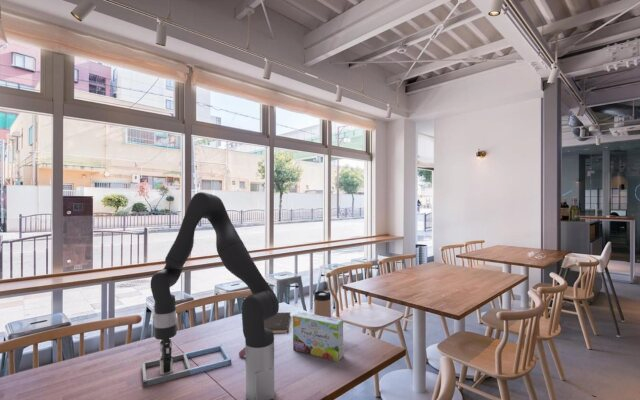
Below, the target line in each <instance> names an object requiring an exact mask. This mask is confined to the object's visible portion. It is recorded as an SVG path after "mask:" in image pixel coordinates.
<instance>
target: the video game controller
mask: <svg viewBox="0 0 640 400" xmlns="http://www.w3.org/2000/svg"><path fill="white" fill-rule="evenodd" d="M238 356H239V357H240V358H244V357H246V346H245V347H243V348H242V349H241V350H240V351H239V352H238Z"/></svg>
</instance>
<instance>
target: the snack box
mask: <svg viewBox="0 0 640 400" xmlns="http://www.w3.org/2000/svg"><path fill="white" fill-rule="evenodd" d="M292 348H293V351H295V352H296V351H297V352H300V353H304V354H307V355H311V356H316V357H320V358H323V359H326V358H327V360H330V359H331V361H335V362H340V361H341V359H342V358H343V357H344V320H343V319H341V318H340V319H338V318H334V317H331V318H329V317H324V316H319V315H314V314H313V313H307V312H301V311H298V312H296V313H295V314H293V315H292Z"/></svg>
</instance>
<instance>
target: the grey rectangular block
mask: <svg viewBox="0 0 640 400" xmlns="http://www.w3.org/2000/svg"><path fill="white" fill-rule="evenodd" d="M163 354H164V353H163ZM172 356H173V353H172V354H171V360H172V361H171V362H170V372H167V373H164V367H163V356H161V353H160V354H159V359H160V365H159V371H160V372H159V373H160V376H163V375H167V374H170V373H174V370H173V363H174V361H173V357H172ZM165 359H169V357H168V358H165Z"/></svg>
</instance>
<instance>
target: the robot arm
mask: <svg viewBox="0 0 640 400" xmlns="http://www.w3.org/2000/svg"><path fill="white" fill-rule="evenodd" d="M184 213H185V214H184V216H183V219H182V222H181V225H180V227H179V230H178V233H177V234H176V238H175V239H174V241H173V243H172V245H171V246H170V249H169V250H168V252H167V254H166V256H165V259H164V261H165V265H164V268H163V269H162V270H159V271H157V272H155V273H154V274H153V275H152V276H151V279H150V291H151V294H152V297H153V300H154V318H153V324H154V325H153V326H154V329H153V330H154V331H153V334H154V339H156V340H158V341H159V347H160V349H159V350H160V354H161V356H163V367H164V373H167V372H170V362H171V361H172V360H171V354H172V355H173V351H172V349H173V348H172V347H173V341H172V338H174V337H175V336H177V333H178V331H177V328H178V327H177V312H176V309H177V307H176V306H177V305H176V297H175V295H174V294H173V293H171V289H170V288H172V287H174V285H175V284H177V282H178V281H179V279H180V277H181V274H182V271H183V268H184V265H185V263H186V262H187V260H188V259H189V256H190V255H191V253H192V251H193V248H194V244H195V240H194V239H195V231H196V228H197V226H198V225H199V223H200V221H201V220H202V219H207V220H208V222H209V223H210V224H211V226H212V228H213V229H214V232H215V240H216V241H215V247H216V251H217V254H218V256H219V259H220V260H221V262H222V264H223V266H224V267H225V269H227V270H228V272H230V273H231V274H232V275H233V276H234V277H236V278H238V279H239V280H241V281H242V282H243V283H244V284H245V285H246V286H247V287H248V288H249V290H250V292H251V294H249V295H247V296H246V297H244V299H243V300H242V304H241V320H242V324H241V325H242V333H243V337H244V339H245V342H244V343H245V346H246V355H245V393H246V394H245V397H246V399H247V400H273V399H275V392H276V391H275V390H276V389H275V385H276V383H275V335H274V334H275V333H273V331H272V330H270V329H267V328H264V321H265V320H267V319H269V318H271V317H273V316H275V315H276V314H277V313H279V310H280V309H279V308H280V305H279V300H278V296H276V293H275V292H274V291H273V289H272V288H271V286H270V285H269V283H268V282H267V281H266V279H265V278H264V276H263V275H262V273H261V272H260V270H259V268H258V266H257V265H256V263H255V261H254V260H253V259H252V256H251V254H250V253H249V250H248V249H247V247H246V246H245V243H244V242H243V240H242V239H241V237H240V235H239V233H238V232H237V229H236V228H235V226H234V224H233V223H232V221H231V219H230V216H229V214H228V211H227V210H226V206H225V204H224V202H223V201H222V199H221V198H220V197H219V196H217V195H215V194H211V193H208V192H204V191H199V192H196V193H195V194H194V195H193V196H192V197H191V199H190V200H189V203H188V205H187V208H186V211H185V212H184ZM163 353H164V354H163ZM168 357H169V359H165V358H168ZM167 374H168V373H167Z"/></svg>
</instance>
